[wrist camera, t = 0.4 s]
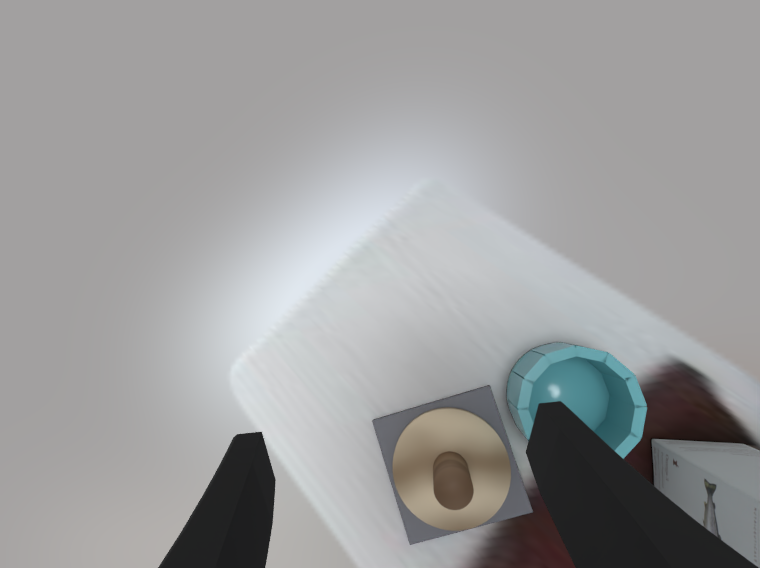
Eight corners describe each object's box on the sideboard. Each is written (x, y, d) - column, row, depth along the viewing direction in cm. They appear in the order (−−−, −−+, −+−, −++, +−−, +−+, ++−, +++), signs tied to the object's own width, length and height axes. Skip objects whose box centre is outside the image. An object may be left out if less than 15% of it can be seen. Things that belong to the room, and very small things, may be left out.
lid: (525, 507, 34) (541, 540, 29) (413, 537, 35) (411, 573, 30) (486, 393, 35) (495, 405, 30) (379, 424, 36) (371, 442, 31)
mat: (531, 509, 34) (533, 512, 34) (410, 541, 35) (410, 544, 35) (489, 385, 36) (489, 386, 35) (373, 419, 37) (372, 421, 36)
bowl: (630, 431, 34) (664, 450, 29) (526, 460, 35) (543, 483, 30) (591, 330, 35) (618, 332, 30) (492, 360, 36) (502, 367, 31)
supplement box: (647, 436, 34) (776, 506, 21) (744, 442, 33) (937, 519, 20) (649, 526, 33) (782, 653, 21) (748, 535, 32) (949, 674, 20)
